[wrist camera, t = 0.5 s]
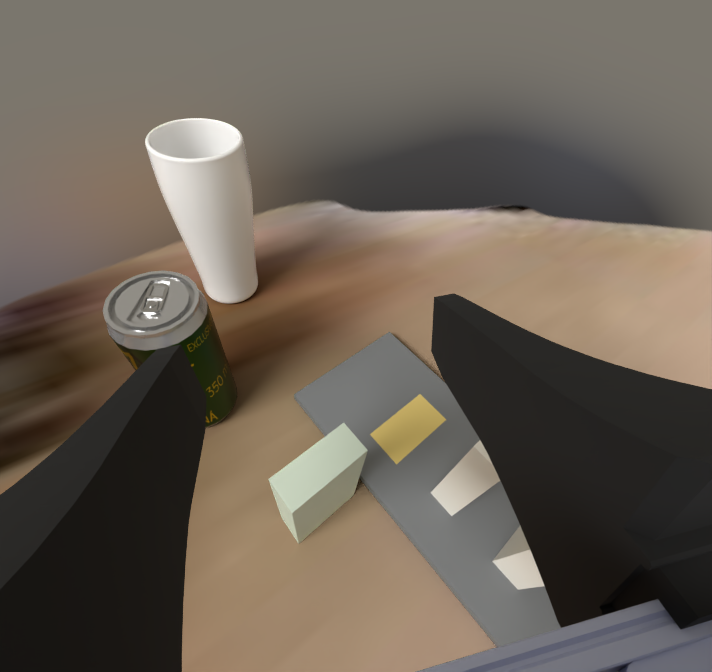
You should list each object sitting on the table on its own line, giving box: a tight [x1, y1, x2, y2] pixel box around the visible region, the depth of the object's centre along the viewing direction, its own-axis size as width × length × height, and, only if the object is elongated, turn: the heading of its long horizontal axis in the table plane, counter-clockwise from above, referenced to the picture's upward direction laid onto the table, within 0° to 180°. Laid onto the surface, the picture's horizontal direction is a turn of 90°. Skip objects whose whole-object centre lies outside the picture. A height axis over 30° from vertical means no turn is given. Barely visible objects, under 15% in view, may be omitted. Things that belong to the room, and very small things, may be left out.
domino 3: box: [492, 526, 544, 590], centre depth 21 cm, size 2×5×9 cm, turn 130°
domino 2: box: [431, 440, 500, 516], centre depth 23 cm, size 2×5×9 cm, turn 131°
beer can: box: [103, 271, 237, 428], centre depth 25 cm, size 5×5×12 cm
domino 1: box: [269, 423, 368, 543], centre depth 22 cm, size 2×5×9 cm, turn 131°
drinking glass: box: [145, 118, 258, 304], centre depth 32 cm, size 7×7×15 cm
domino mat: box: [294, 332, 561, 647], centre depth 26 cm, size 34×11×1 cm, turn 41°
